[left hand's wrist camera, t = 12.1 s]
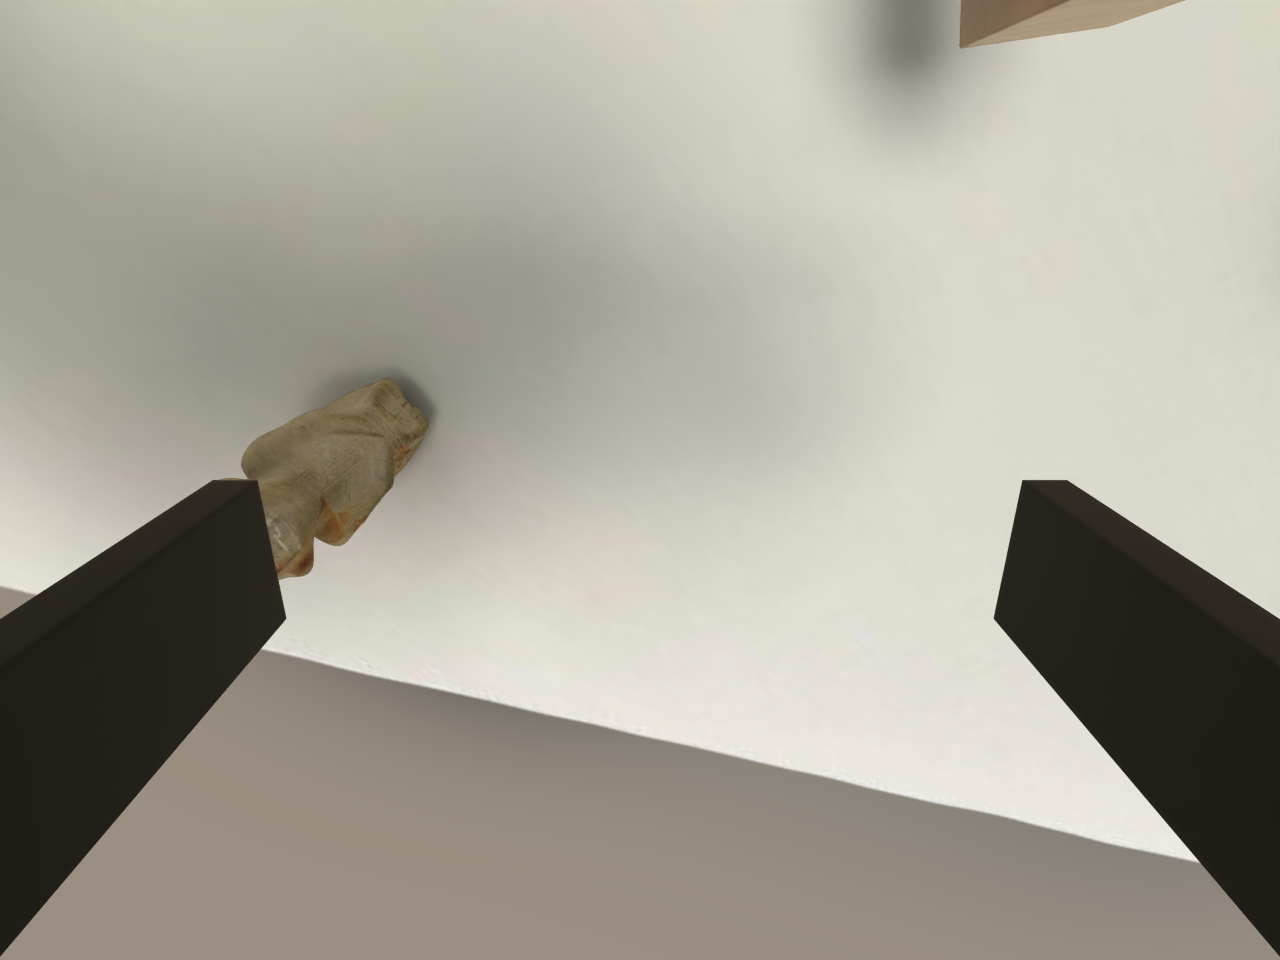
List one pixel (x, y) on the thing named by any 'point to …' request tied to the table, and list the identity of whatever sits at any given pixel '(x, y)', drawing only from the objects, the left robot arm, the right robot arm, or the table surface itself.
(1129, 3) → the bar
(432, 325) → the table surface
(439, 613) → the table surface
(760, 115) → the table surface
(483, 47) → the table surface
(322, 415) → the sculpture
